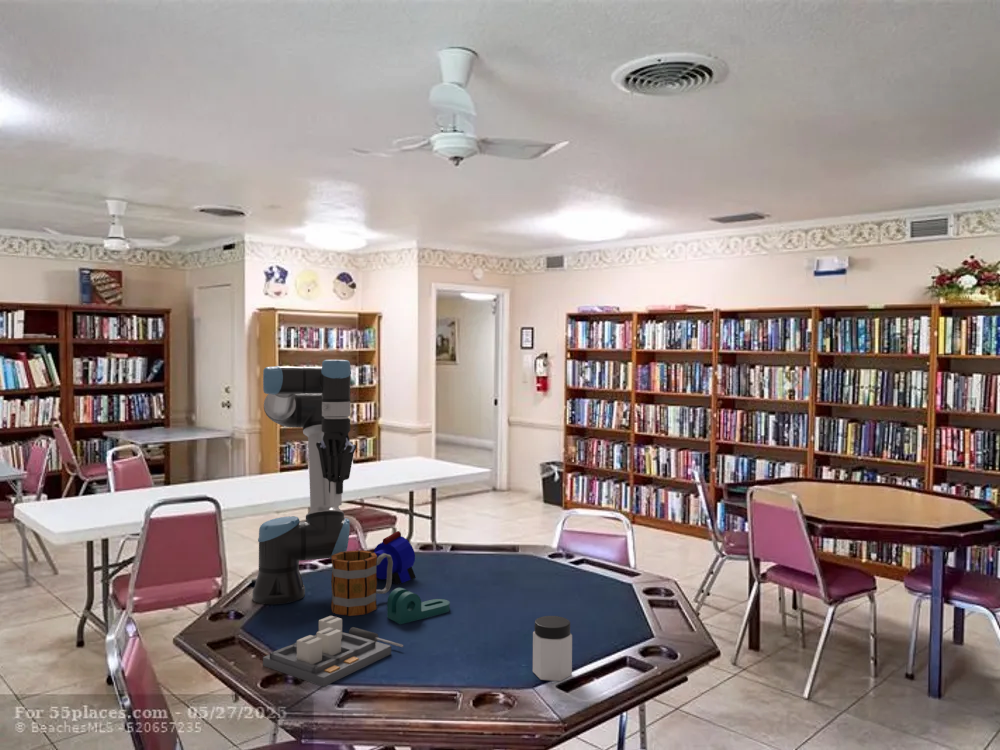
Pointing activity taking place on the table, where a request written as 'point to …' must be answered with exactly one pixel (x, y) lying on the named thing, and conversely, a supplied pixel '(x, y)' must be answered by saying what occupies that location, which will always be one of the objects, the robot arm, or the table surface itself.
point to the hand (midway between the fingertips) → (335, 505)
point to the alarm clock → (396, 558)
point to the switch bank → (329, 660)
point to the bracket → (413, 606)
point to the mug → (357, 582)
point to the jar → (552, 648)
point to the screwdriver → (370, 636)
